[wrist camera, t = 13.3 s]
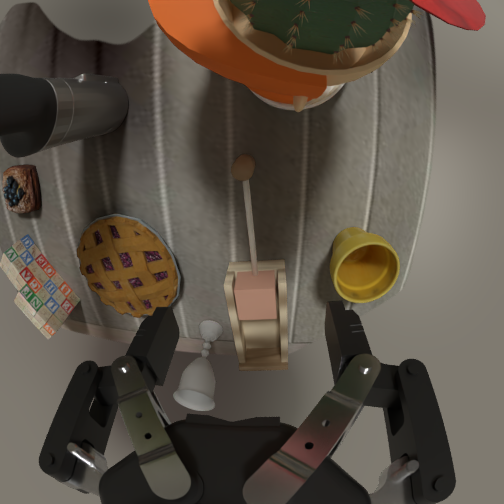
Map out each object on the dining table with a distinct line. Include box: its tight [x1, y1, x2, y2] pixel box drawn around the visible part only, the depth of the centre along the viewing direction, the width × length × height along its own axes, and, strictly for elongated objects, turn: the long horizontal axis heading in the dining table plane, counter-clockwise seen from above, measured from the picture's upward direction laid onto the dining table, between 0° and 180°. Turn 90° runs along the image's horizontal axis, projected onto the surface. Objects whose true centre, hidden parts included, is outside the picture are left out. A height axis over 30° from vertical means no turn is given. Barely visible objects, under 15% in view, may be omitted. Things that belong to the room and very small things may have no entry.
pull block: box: [231, 154, 277, 320], centre depth 39 cm, size 24×6×6 cm, turn 5°
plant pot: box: [330, 227, 400, 303], centre depth 40 cm, size 10×10×10 cm
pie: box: [77, 214, 181, 318], centre depth 46 cm, size 22×22×5 cm
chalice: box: [173, 320, 223, 411], centre depth 47 cm, size 7×7×18 cm
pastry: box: [3, 165, 41, 213], centre depth 39 cm, size 11×12×6 cm
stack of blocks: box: [0, 234, 80, 339], centre depth 47 cm, size 21×6×12 cm, turn 34°
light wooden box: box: [224, 259, 288, 371], centre depth 48 cm, size 20×9×8 cm, turn 5°
